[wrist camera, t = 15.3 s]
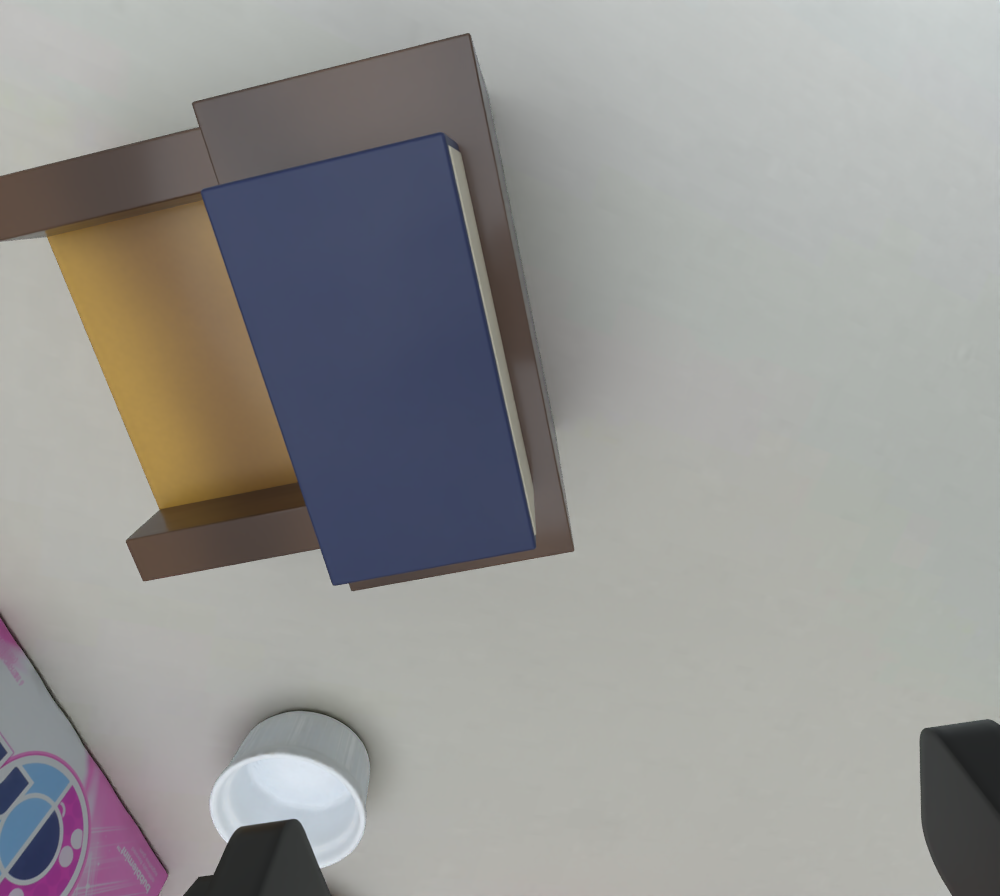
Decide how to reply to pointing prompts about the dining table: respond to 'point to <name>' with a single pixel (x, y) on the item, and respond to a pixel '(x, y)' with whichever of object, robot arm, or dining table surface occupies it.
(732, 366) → the dining table surface
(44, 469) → the dining table surface
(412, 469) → the book
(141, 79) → the dining table surface
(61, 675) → the dining table surface
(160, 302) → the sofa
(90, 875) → the gum box
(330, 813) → the ramekin
